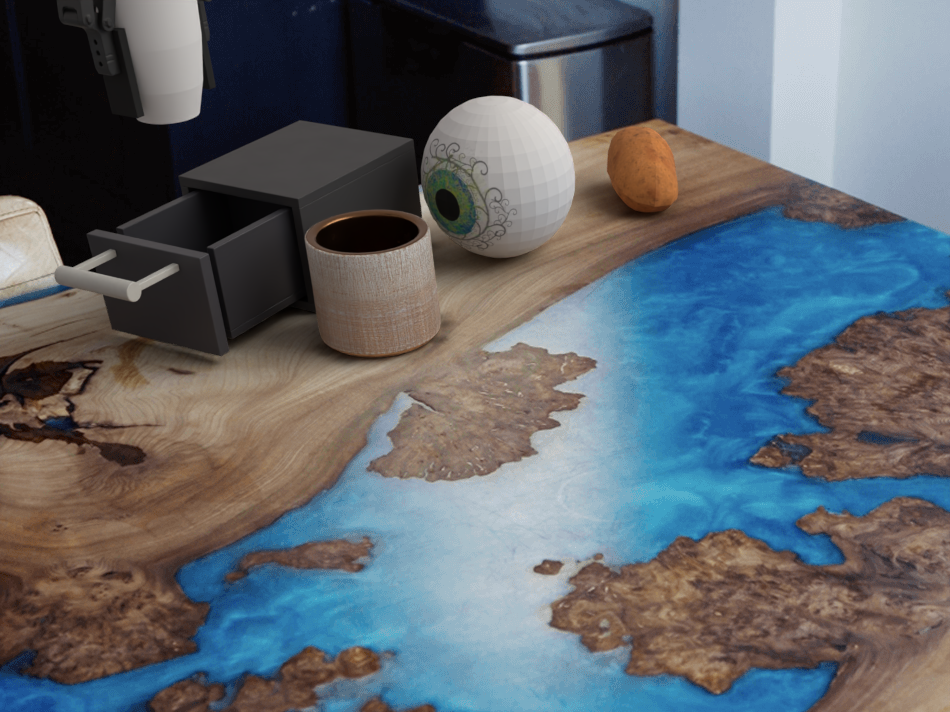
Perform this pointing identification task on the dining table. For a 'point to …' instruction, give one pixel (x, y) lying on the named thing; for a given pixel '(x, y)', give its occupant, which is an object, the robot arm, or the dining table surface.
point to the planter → (373, 282)
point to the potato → (642, 169)
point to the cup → (164, 56)
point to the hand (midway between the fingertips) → (165, 99)
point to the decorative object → (498, 176)
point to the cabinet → (316, 177)
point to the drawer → (195, 270)
